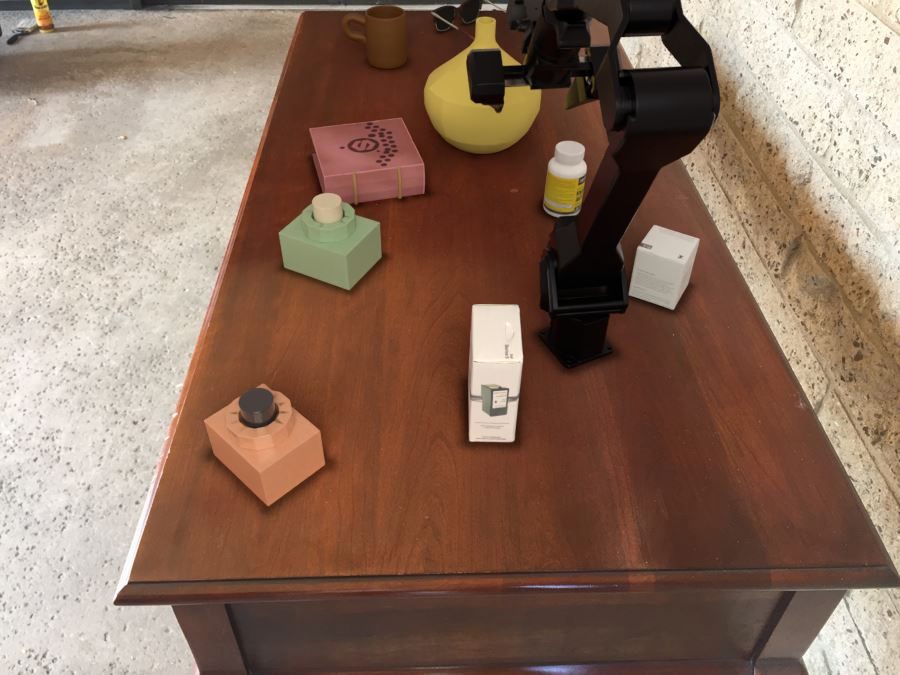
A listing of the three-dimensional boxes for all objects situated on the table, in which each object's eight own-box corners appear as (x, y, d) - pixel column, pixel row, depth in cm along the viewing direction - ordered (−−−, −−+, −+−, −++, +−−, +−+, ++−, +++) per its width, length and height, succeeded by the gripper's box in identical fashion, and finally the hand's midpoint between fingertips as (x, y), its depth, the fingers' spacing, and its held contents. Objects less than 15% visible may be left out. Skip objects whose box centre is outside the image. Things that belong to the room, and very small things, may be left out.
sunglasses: (481, 18, 165) (483, -6, 162) (533, 46, 157) (536, 22, 154) (430, 33, 159) (431, 9, 155) (481, 64, 151) (484, 39, 147)
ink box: (466, 382, 86) (470, 301, 78) (511, 383, 86) (519, 302, 78) (467, 443, 80) (471, 360, 72) (515, 443, 80) (525, 361, 72)
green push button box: (382, 257, 103) (379, 208, 98) (349, 290, 98) (344, 241, 92) (318, 236, 106) (313, 188, 101) (283, 267, 101) (276, 219, 96)
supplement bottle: (579, 221, 110) (588, 159, 103) (540, 216, 110) (547, 155, 104) (582, 201, 114) (591, 140, 107) (545, 196, 114) (551, 135, 108)
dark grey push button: (283, 415, 73) (280, 399, 72) (255, 433, 72) (251, 418, 70) (263, 397, 75) (259, 382, 74) (235, 415, 73) (231, 400, 72)
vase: (411, 159, 122) (408, 37, 109) (439, 107, 135) (440, -7, 122) (526, 175, 119) (538, 51, 106) (544, 120, 132) (556, 5, 119)
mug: (342, 70, 145) (338, 19, 139) (345, 54, 151) (341, 4, 144) (407, 70, 146) (405, 19, 139) (407, 54, 151) (406, 4, 145)
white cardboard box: (688, 285, 99) (701, 237, 94) (673, 311, 95) (686, 263, 90) (643, 270, 102) (653, 222, 97) (626, 295, 98) (636, 247, 93)
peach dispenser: (325, 464, 77) (318, 417, 73) (268, 506, 74) (256, 460, 69) (270, 417, 82) (260, 370, 77) (213, 454, 78) (199, 407, 73)
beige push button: (348, 213, 98) (347, 197, 96) (332, 228, 95) (330, 211, 94) (324, 206, 99) (322, 190, 97) (308, 220, 96) (306, 203, 95)
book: (327, 210, 111) (324, 179, 107) (312, 157, 122) (309, 128, 118) (425, 196, 114) (425, 166, 110) (402, 146, 125) (401, 117, 121)
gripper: (627, -28, 90) (591, 51, 105) (468, -23, 88) (455, 56, 103) (642, 57, 88) (603, 125, 103) (479, 65, 86) (464, 133, 101)
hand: (531, 108), depth 103 cm, fingers open, 9 cm apart
